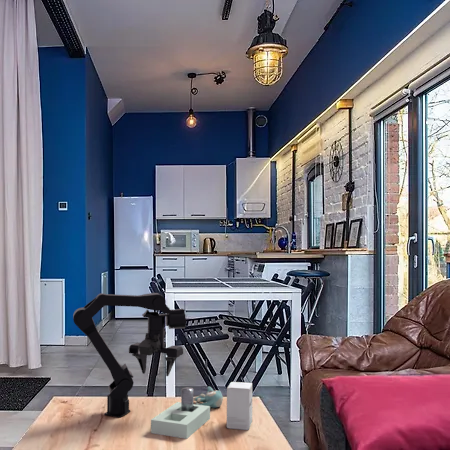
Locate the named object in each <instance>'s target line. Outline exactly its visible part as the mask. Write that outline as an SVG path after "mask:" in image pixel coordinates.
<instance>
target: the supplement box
mask: <svg viewBox="0 0 450 450" xmlns="http://www.w3.org/2000/svg"><path fill="white" fill-rule="evenodd" d="M252 423H253V382H241V381H240V382H239V381H231V382H230V383H229V385H228V386H227V387H226V429H232V430H233V429H234V430H242V431H243V430H245V431H249V430H250V429H251V425H252Z"/></svg>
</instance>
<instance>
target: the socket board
mask: <svg viewBox="0 0 450 450" xmlns="http://www.w3.org/2000/svg"><path fill="white" fill-rule="evenodd" d="M210 419H211V407H210V406H204V405H196V403H194V411H193V412H188V411H181V401H179V402H178V401H177V402H175V403H173V404H172V405H171V406H169V407H168V408H166V409H165V410H163V411H162V412H160V413H159V414H157V415H156V416H154V417H153V418H151V419H150V434H154V435H155V434H156V435H159V436H160V435H161V436H165V437H166V436H167V437H174V438H181V439H184V440H185V439H186V440H187V439H188V438H189V437H191V436H192V435H193V434H194V433H195V432H197V431H198V430H199V429H201V427H202V426H204V425H205V424H206V423H207V422H208V421H209V420H210Z"/></svg>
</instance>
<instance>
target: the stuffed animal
mask: <svg viewBox="0 0 450 450" xmlns="http://www.w3.org/2000/svg"><path fill="white" fill-rule="evenodd" d="M205 393H206V394H204V393H200V394H199V395H197V396H194V404H196V405H204V406H210V408H213V409H215V408H219V407H221V406H222V404H223V401H224V397H223V394H222V391H220V390H217V389H213V388H212V387H211V386H207V391H206V392H205Z"/></svg>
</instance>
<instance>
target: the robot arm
mask: <svg viewBox="0 0 450 450" xmlns="http://www.w3.org/2000/svg"><path fill="white" fill-rule="evenodd" d="M166 303H167V301H166V298H165V296H164V295H162V294H160V293H158V292H152V293H151V292H150V293H143V294H138V295H136V294H135V295H134V294H133V295H132V294H112V293H110V294H108V293H101V292H100V293H98V294H97V295H96V296H95V297H94V298H93V299H92V300H91V301H89V302H88V303H87V304H86V305H85V306H84V307H79V308H77V309H75V310H74V312H73V315H72V316H73V317H72V319H73V324H74V325H75V326H76V327H77V328H79V330H80V331H81V332H82V333H83V334H84V335H86V337H87V338H88V340H89V341H90V342H91V344H92V346H93V347H94V348H95V350H96V351H97V353H98V355H99V357H100V358H101V359H102V361H103V362H104V364H105V365H106V367H107V368H108V370H109V372H110V375H111V377H112V379H113V381H112V382H111V383H110V384H109V385H108V386H107V388H108V393H109V394H108V395H107V397H106V398H107V399H106V403H107V404H106V409H107V410H106V412H105V413H103V414H104V416H107V417H108V416H109V417H115V418H122V417H124V416H125V415H127V414H129V413H130V412H131V409H130V399H129V392H130V391H131V390H132V388H133V386H134V379H133V378H134V375H133V373H132V371H130V370H129V368H128V366H127V364H126V363H123V365H122V364H121V363H120V362H119V361H118V360H117V358H116V356H115V355H114V353H113V352H112V351H111V348H110V347H109V346H108V345H107V343H106V341H105V339H104V338H103V336H102V335H101V334H100V332H99V331H98V329H97V326H96V323H95V320H94V319H93V317H95V316H96V315H97V314H98V313H99V312H100V310H102V308H104V307H106V306H107V307H109V306H111V307H132V308H133V307H136V308H137V307H138V308H142V309H146V310H145V311H144V313H142V317H143V318H147V332H146V333H145V338H144V339H143V340H142V341H141V342H135V343H132V344H130V346H129V347H128V354H131V356H132V357H134V358H136V359H137V362H138V364H139V366H140V370H141V372H142V374H144V375H145V374H146V370H147V359H148V356H152V355H153V354H154V353H158V354H165V355H166V357H164V359H165V361H166V362H165V363H166V365H165V376H166V377H169V376H170V374H171V371H172V369H173V366H174V364H175V362H176V360H177V358H179V357H180V356H182V355H183V354H184V348H183V347H182V345H181V346H180V345H171V346H169V347H167V342H165V335H166V334H167V332H166V331H165V326H166V327H168V329H169V330H174V329H175V330H176V329H185V328H186V327H187V317H186V316H187V315H186V313H185V309H184V308H178V309H170V307H168V305H167V304H166ZM159 311H160V312H162V313H159Z"/></svg>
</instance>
